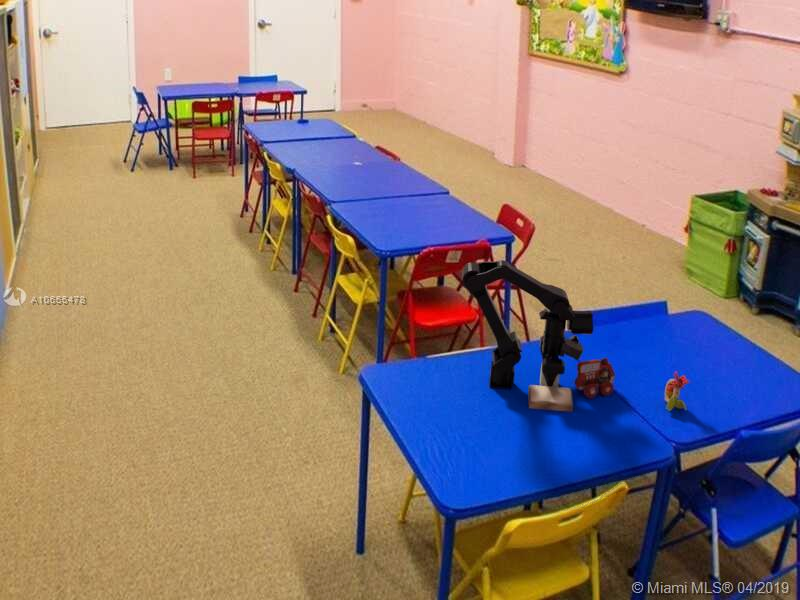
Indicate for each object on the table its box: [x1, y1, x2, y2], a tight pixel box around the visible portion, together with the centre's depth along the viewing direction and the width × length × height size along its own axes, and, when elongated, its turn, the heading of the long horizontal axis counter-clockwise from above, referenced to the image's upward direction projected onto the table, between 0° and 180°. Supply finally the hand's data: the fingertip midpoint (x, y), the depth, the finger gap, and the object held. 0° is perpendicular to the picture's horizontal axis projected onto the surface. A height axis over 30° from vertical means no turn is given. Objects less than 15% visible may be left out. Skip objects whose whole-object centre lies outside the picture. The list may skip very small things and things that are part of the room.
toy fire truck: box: [573, 357, 616, 399], centre depth 243 cm, size 7×12×10 cm, turn 110°
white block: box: [539, 363, 561, 387], centre depth 246 cm, size 5×5×6 cm
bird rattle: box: [664, 371, 691, 412], centre depth 237 cm, size 6×11×9 cm
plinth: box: [527, 384, 574, 413], centre depth 239 cm, size 12×9×2 cm
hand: (549, 379), depth 247 cm, fingers open, 8 cm apart
